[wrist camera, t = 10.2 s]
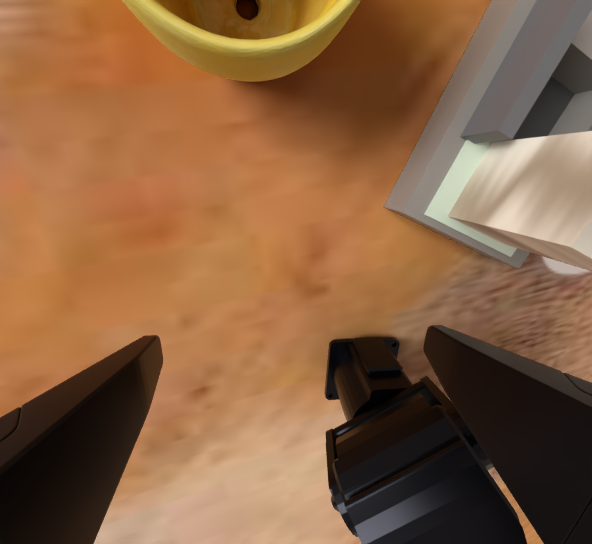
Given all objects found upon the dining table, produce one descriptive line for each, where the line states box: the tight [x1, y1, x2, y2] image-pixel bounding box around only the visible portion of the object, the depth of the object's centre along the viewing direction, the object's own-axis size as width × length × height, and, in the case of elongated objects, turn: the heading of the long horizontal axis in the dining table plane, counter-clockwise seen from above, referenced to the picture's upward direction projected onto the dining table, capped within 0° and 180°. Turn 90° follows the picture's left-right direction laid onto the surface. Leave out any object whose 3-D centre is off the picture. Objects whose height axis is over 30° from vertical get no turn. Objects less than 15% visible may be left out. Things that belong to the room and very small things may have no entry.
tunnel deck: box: [384, 0, 592, 269], centre depth 17 cm, size 20×11×6 cm, turn 156°
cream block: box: [448, 131, 592, 271], centre depth 15 cm, size 5×5×8 cm
